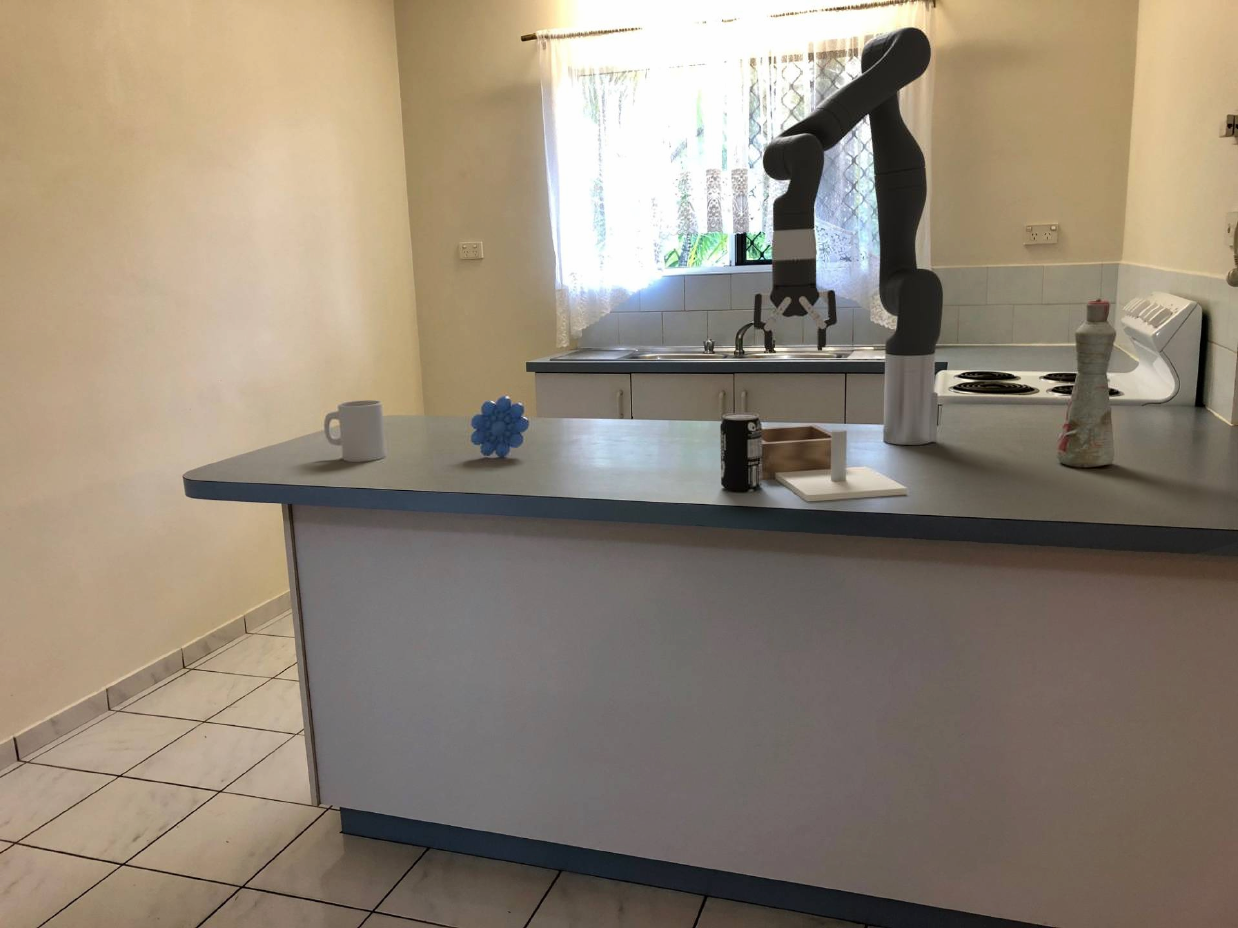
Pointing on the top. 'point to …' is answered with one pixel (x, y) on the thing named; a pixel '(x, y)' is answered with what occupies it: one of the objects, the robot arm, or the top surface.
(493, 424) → the blue flower ornament
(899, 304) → the robot arm
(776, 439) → the collar
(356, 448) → the mug
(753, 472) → the beverage can
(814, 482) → the white square baseplate
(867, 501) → the top surface
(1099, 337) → the bottle
